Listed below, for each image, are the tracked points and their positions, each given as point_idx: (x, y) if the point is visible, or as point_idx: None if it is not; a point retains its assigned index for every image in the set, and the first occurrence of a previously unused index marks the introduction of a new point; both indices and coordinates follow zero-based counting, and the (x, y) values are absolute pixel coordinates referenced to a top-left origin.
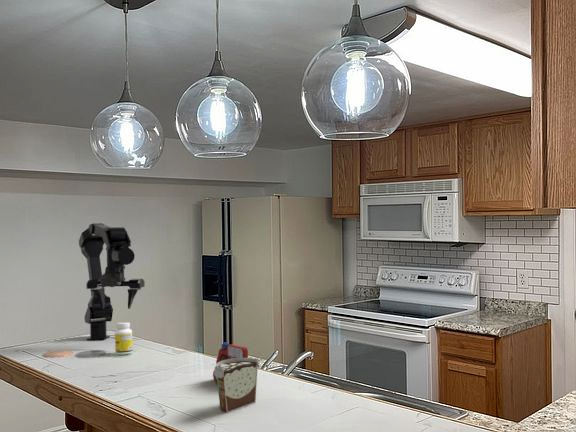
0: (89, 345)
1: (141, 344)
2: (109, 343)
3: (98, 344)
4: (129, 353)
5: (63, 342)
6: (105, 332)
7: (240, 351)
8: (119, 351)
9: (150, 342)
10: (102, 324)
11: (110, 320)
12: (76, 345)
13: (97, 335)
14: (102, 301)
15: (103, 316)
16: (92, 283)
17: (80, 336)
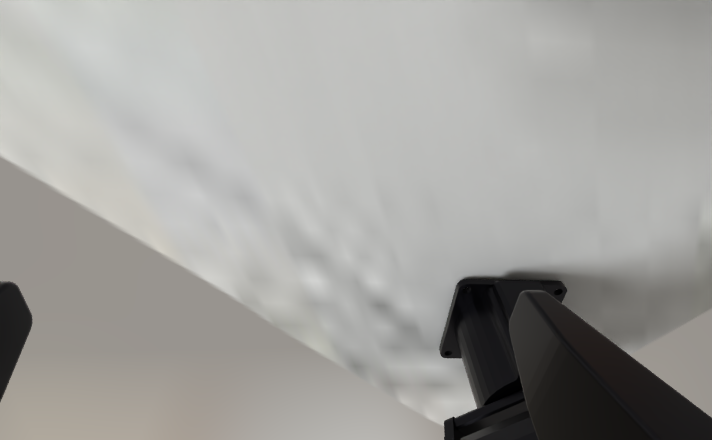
0: (530, 140)
1: (139, 151)
2: (398, 196)
3: (469, 169)
4: None
5: (704, 237)
6: (464, 342)
7: None
8: None
9: (108, 212)
10: (497, 375)
11: (451, 422)
12: (623, 145)
13: (505, 294)
14: (602, 418)
15: (507, 422)
16: None
17: None
